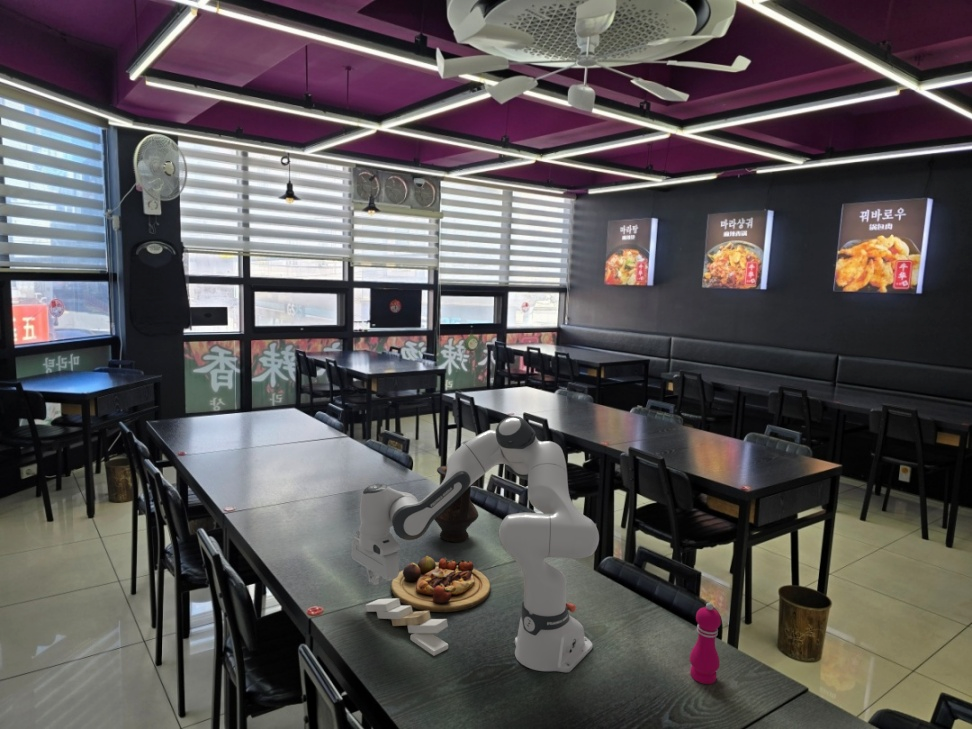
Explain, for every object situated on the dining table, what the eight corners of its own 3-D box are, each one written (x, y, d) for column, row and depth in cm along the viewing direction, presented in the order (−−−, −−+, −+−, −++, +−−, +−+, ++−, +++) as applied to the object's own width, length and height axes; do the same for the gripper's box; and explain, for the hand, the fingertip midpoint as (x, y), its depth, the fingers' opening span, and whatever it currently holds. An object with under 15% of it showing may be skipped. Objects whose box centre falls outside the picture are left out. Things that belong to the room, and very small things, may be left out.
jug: (422, 531, 248) (425, 457, 244) (465, 525, 256) (468, 453, 252) (442, 552, 229) (444, 472, 225) (487, 545, 237) (491, 468, 233)
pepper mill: (711, 668, 165) (718, 596, 163) (722, 685, 158) (729, 610, 156) (684, 667, 165) (690, 595, 162) (694, 685, 158) (701, 610, 155)
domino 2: (390, 605, 187) (411, 605, 180) (391, 612, 187) (412, 612, 180) (376, 611, 183) (398, 611, 176) (378, 618, 183) (399, 619, 176)
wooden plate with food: (479, 621, 184) (480, 594, 183) (375, 605, 190) (376, 579, 189) (498, 575, 215) (499, 552, 214) (408, 562, 221) (409, 540, 220)
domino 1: (379, 598, 190) (399, 598, 184) (380, 605, 190) (400, 605, 183) (365, 604, 186) (385, 604, 180) (367, 611, 186) (387, 611, 180)
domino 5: (424, 628, 176) (448, 644, 169) (424, 635, 176) (448, 651, 169) (410, 635, 173) (434, 651, 165) (410, 641, 173) (433, 658, 166)
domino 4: (418, 619, 179) (446, 619, 174) (419, 626, 179) (447, 626, 174) (407, 625, 175) (436, 625, 170) (408, 633, 175) (437, 633, 170)
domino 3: (402, 612, 183) (429, 610, 178) (403, 619, 183) (430, 617, 178) (391, 618, 179) (418, 617, 174) (392, 626, 178) (420, 624, 173)
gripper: (346, 530, 191) (345, 573, 193) (385, 552, 177) (384, 599, 179) (364, 525, 196) (363, 568, 198) (403, 547, 181) (402, 592, 183)
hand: (373, 583), depth 188 cm, fingers closed
